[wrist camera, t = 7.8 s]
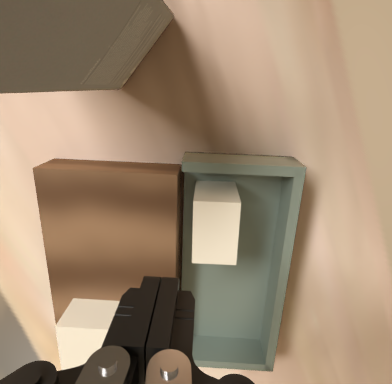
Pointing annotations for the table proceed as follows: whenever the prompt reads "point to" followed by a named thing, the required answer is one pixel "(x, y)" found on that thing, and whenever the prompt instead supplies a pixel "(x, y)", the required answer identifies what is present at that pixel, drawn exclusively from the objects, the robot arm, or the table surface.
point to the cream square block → (83, 330)
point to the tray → (243, 259)
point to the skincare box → (75, 42)
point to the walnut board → (107, 226)
